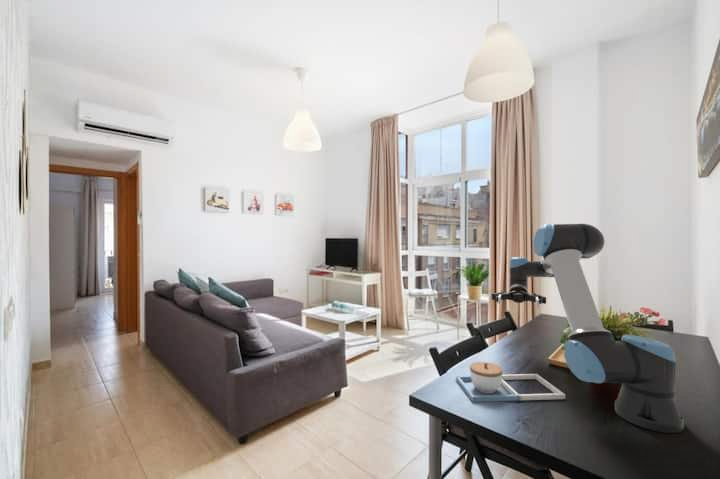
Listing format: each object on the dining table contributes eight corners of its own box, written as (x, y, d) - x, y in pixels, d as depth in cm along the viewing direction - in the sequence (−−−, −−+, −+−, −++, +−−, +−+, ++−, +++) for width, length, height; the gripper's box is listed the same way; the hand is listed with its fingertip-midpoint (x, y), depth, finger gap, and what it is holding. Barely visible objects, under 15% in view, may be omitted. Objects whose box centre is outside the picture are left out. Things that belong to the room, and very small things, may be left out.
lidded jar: (500, 384, 117) (499, 358, 117) (505, 398, 107) (504, 370, 107) (469, 381, 120) (468, 355, 120) (470, 394, 110) (470, 367, 109)
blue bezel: (519, 400, 105) (519, 395, 105) (472, 401, 105) (472, 397, 105) (496, 378, 121) (496, 374, 121) (456, 379, 121) (456, 375, 121)
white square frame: (565, 399, 106) (565, 394, 106) (517, 400, 105) (517, 395, 105) (536, 377, 122) (536, 373, 122) (495, 378, 121) (495, 374, 121)
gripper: (550, 303, 140) (554, 314, 121) (488, 299, 151) (484, 308, 132) (550, 286, 140) (554, 294, 121) (488, 283, 151) (484, 290, 132)
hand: (517, 301), depth 127 cm, fingers open, 13 cm apart
